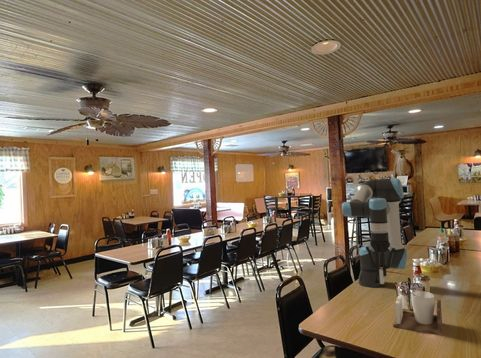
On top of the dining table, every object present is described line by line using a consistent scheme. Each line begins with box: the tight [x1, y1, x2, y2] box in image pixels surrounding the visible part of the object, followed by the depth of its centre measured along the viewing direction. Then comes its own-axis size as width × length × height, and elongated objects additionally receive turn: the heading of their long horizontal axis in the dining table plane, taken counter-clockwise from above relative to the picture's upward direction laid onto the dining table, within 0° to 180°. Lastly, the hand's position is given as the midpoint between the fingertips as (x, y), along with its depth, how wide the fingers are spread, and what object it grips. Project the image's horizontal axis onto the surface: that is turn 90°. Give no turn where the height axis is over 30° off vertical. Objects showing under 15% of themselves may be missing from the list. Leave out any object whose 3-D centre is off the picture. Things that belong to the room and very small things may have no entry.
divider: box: [394, 295, 404, 324], centre depth 147 cm, size 2×11×9 cm, turn 147°
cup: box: [410, 290, 436, 325], centre depth 143 cm, size 9×9×12 cm
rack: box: [392, 299, 443, 336], centre depth 143 cm, size 18×13×10 cm
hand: (382, 283), depth 150 cm, fingers closed
